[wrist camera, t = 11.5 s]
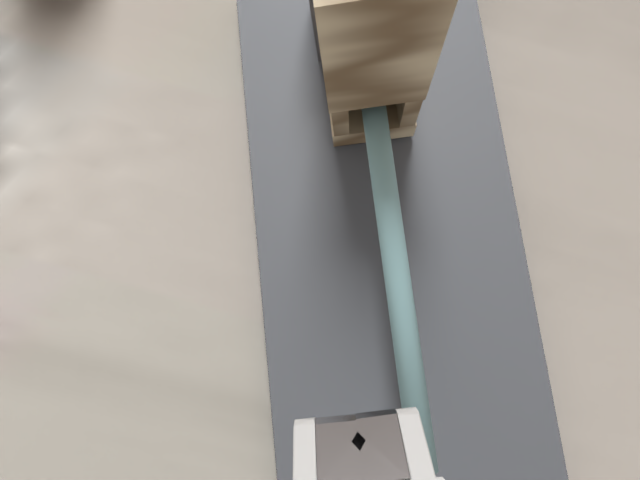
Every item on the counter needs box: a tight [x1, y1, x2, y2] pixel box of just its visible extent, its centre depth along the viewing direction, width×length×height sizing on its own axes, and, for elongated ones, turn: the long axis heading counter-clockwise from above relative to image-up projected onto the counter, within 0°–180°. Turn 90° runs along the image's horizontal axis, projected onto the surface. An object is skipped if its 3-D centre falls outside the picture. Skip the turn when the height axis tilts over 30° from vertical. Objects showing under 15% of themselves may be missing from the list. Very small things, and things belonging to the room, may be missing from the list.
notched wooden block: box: [313, 0, 458, 147], centre depth 18 cm, size 4×4×11 cm
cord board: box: [237, 0, 568, 480], centre depth 20 cm, size 14×30×8 cm, turn 6°
